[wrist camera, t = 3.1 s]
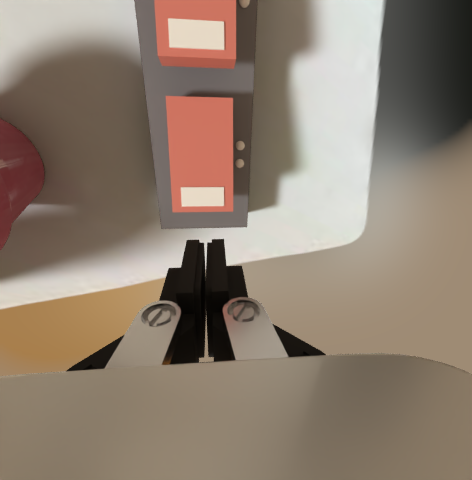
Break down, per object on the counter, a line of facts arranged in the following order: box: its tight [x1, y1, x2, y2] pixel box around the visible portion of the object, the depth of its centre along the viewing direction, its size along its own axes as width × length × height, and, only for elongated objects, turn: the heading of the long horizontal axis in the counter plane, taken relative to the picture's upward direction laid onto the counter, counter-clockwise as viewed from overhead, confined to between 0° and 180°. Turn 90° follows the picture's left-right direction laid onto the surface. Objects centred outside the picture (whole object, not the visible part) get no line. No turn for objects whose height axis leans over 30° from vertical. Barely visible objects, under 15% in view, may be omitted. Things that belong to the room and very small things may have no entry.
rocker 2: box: [166, 96, 233, 212], centre depth 22 cm, size 9×5×2 cm, turn 179°
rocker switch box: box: [134, 0, 257, 229], centre depth 22 cm, size 29×9×5 cm, turn 179°
